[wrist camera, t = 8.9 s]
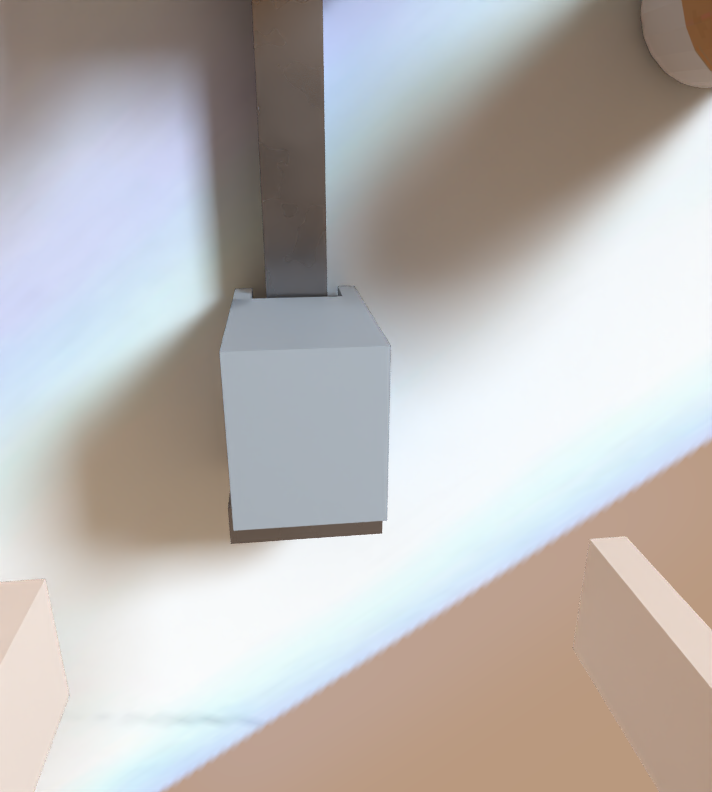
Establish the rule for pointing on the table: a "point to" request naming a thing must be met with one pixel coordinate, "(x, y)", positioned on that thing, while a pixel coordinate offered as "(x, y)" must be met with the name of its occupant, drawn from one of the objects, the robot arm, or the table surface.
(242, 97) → the table surface
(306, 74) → the rail
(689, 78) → the coffee cup
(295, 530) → the square post base
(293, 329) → the block
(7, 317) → the table surface
